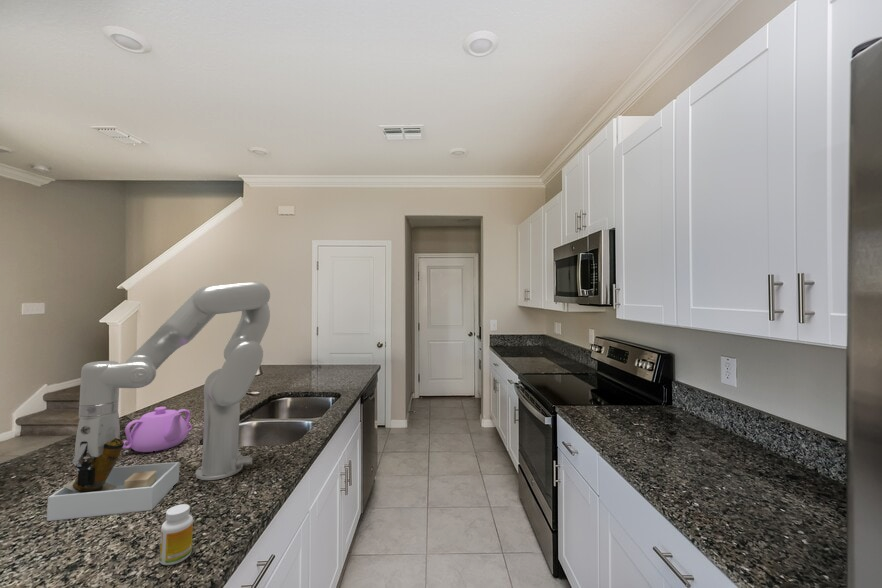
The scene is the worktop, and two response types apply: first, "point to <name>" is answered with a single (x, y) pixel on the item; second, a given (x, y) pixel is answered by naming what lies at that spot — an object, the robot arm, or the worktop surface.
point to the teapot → (157, 430)
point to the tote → (115, 494)
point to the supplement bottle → (176, 535)
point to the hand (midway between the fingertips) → (95, 477)
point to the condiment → (101, 469)
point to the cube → (140, 480)
